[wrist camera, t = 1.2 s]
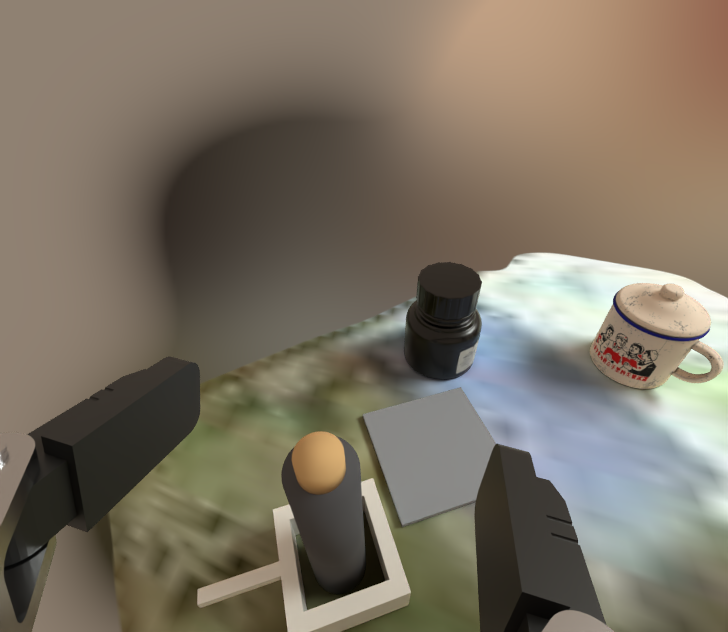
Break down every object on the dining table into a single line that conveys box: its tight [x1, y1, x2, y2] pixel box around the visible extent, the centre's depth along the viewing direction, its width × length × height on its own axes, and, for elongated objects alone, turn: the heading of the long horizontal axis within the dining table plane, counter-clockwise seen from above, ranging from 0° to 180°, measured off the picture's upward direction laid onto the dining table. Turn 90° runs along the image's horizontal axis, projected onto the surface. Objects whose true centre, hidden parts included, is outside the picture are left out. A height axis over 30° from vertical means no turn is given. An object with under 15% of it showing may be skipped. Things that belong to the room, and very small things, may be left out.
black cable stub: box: [282, 432, 366, 594], centre depth 26 cm, size 4×4×18 cm
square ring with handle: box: [197, 478, 411, 632], centre depth 30 cm, size 15×9×4 cm, turn 107°
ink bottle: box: [404, 262, 482, 379], centre depth 46 cm, size 10×9×12 cm
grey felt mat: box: [363, 387, 496, 527], centre depth 39 cm, size 12×12×1 cm
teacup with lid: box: [590, 283, 723, 389], centre depth 43 cm, size 12×9×12 cm
